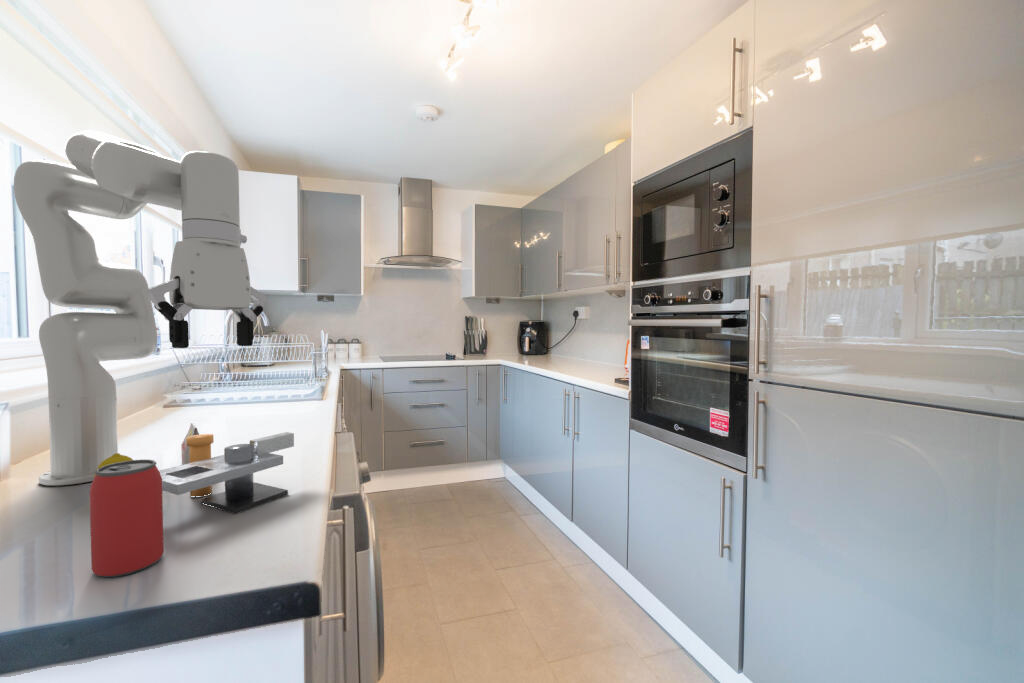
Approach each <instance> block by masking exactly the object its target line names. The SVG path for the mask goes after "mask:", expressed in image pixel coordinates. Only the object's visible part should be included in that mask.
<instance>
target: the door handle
mask: <svg viewBox="0 0 1024 683" xmlns="http://www.w3.org/2000/svg"><path fill="white" fill-rule="evenodd" d="M294 434H295V433H294V432H289V431H288V432H287V431H285V432H281V433H277V434H273V435H269V436H263V437H259V438H255V439H254V438H253V439H251V440H249V443H239V444H233V445H228V446H225V447H224V448H223V449H224V451H223V453H224V454H221V455H217V456H214V457H211V458H209V459H205V460H201V461H197V462H193V463H188V464H184V465H182V464H181V465H176V466H173V467H172V466H171V467H169V468H164V469H161V470H160V469H159V472H160V474H161V477H162V492H165V493H169V494H173V495H176V496H180V495H183V494H187V493H190V491H194V490H197V489H201V488H204V487H207V486H211V485H212V486H213V485H217V484H220V483H224V486H225V487H224V491H222V492H219V493H216V494H213V495H208V496H205V497H204V498H203V497H202V498H201V499H200V504H201V503H204V504H207V505H211V506H214V507H217V508H220V509H222V510H221V511H224V510H225V512H227V513H231V514H235V515H237V514H240V513H242V512H245V511H248V510H250V509H252V508H256V507H258V506H261V505H265V504H267V503H269V502H271V501H274V500H278V499H280V498H283V497H287V495H289V490H288V489H285V488H280V487H276V486H272V485H269V484H268V485H267V484H263V483H259V482H255V481H254V474H255V473H258V472H262V471H265V470H268V469H272V468H274V467H278V466H281V465H284V455H282V454H276V453H273V452H278V451H281V450H285V449H289V448H292V447H295V435H294ZM217 508H216V509H217ZM220 509H219V510H220Z"/></svg>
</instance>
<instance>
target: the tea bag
mask: <svg viewBox="0 0 1024 683" xmlns="http://www.w3.org/2000/svg"><path fill="white" fill-rule="evenodd" d="M194 435H200V432H199V431H198V428H197V426H196V424H195V423H194V422H191V423H190V426H189V429H188V431H187V434H186V435H185V437H184V438H183V440H182V443H181V465H184V464H188V463H190V447H189V446H187V443H186V438H187V437H189V436H194Z"/></svg>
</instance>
